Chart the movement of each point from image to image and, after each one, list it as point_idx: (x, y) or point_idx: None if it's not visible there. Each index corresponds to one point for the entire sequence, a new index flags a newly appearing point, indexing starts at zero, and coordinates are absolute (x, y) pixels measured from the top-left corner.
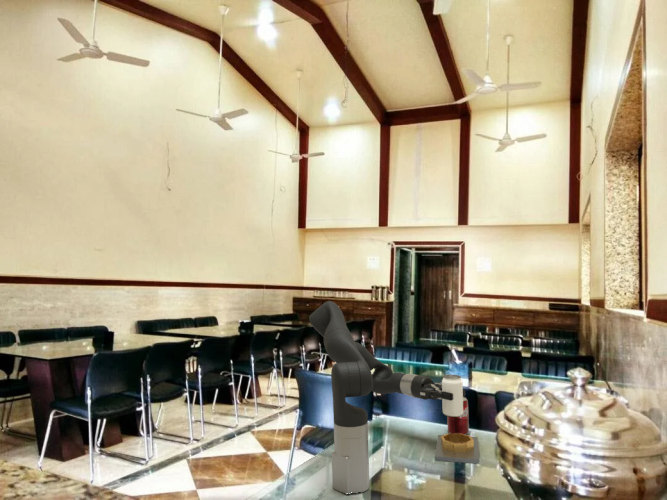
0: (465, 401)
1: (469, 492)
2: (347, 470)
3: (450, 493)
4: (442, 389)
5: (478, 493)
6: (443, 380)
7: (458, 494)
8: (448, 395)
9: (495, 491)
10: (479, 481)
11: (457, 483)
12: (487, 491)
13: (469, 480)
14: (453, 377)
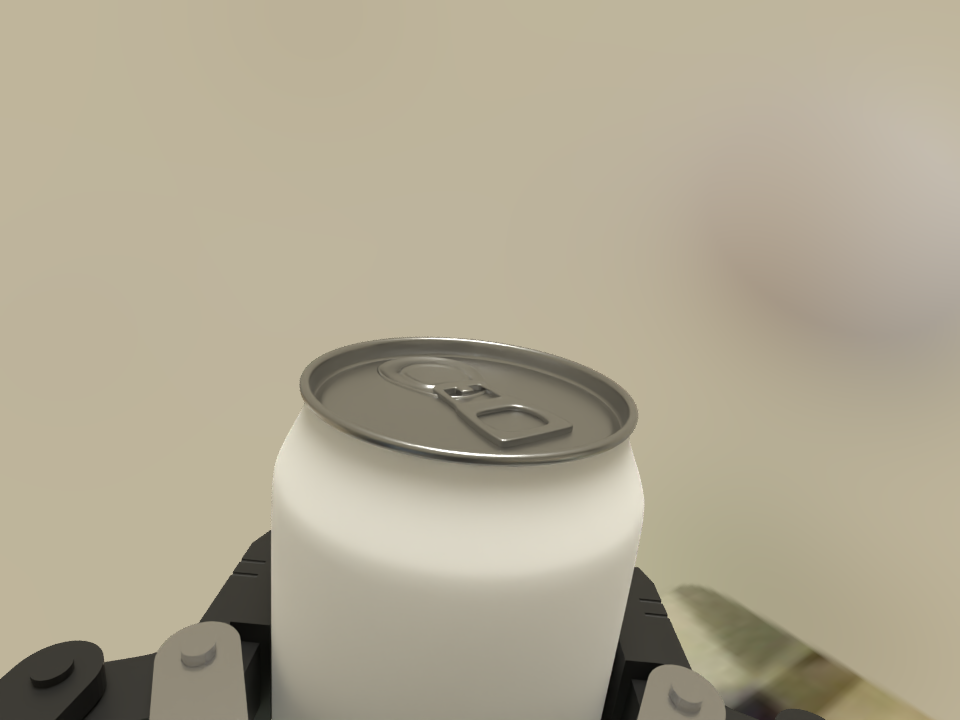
0: None
1: (787, 643)
2: None
3: (877, 692)
4: (602, 676)
5: (756, 619)
6: (632, 496)
7: (843, 665)
8: (644, 582)
9: (687, 588)
10: None
11: None
12: (713, 604)
13: (718, 686)
14: (470, 382)
